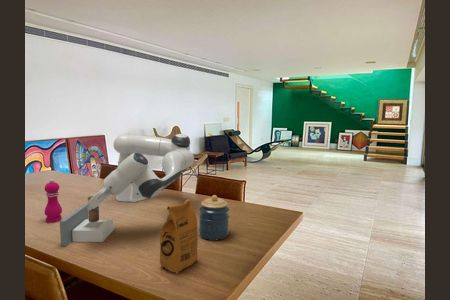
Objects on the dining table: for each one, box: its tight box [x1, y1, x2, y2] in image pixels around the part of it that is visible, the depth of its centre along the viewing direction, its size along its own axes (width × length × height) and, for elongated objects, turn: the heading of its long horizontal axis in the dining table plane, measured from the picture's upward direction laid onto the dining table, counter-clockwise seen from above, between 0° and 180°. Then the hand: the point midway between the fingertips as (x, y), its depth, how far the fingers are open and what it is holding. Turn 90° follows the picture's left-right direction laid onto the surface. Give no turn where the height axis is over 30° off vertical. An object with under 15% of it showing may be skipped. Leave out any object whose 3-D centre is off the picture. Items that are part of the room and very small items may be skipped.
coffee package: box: [159, 198, 199, 273], centre depth 100 cm, size 10×12×22 cm
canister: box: [198, 194, 230, 241], centre depth 125 cm, size 13×13×18 cm
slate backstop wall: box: [59, 204, 89, 247], centre depth 122 cm, size 2×20×10 cm, turn 2°
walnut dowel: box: [87, 195, 100, 222], centre depth 121 cm, size 4×4×10 cm
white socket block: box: [72, 218, 114, 243], centre depth 122 cm, size 12×12×5 cm
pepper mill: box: [44, 178, 63, 223], centre depth 137 cm, size 7×7×20 cm
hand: (91, 206), depth 121 cm, fingers closed on walnut dowel, 4 cm apart
